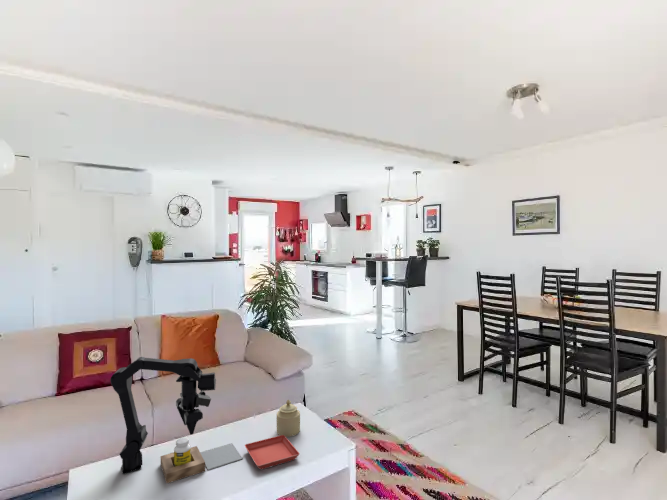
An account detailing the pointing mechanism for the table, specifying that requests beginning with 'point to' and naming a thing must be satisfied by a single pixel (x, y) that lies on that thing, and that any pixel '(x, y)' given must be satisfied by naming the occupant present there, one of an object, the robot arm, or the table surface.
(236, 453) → the slate mat
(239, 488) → the table surface
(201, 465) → the holder block
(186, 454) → the pill bottle
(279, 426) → the sugar bowl
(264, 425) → the table surface
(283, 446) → the plant saucer
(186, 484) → the table surface
